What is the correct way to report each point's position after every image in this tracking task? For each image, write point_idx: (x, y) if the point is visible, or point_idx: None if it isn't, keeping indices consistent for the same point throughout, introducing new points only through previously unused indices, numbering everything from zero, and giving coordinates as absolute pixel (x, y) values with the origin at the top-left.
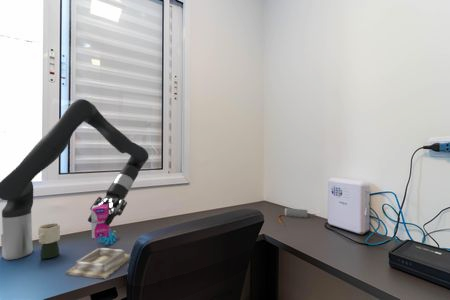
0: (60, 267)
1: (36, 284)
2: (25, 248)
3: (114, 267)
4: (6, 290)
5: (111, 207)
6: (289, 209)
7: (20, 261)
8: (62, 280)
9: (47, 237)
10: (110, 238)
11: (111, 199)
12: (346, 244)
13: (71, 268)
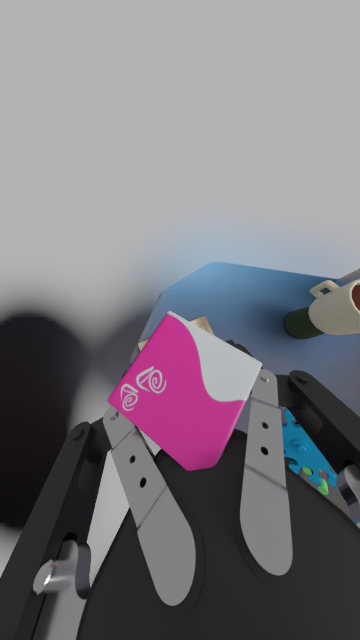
0: (235, 320)
1: (208, 286)
2: None
3: None
4: (223, 263)
5: (120, 442)
6: None
7: None
8: (190, 307)
9: (321, 300)
10: (285, 447)
11: (164, 581)
12: None
13: (207, 324)
